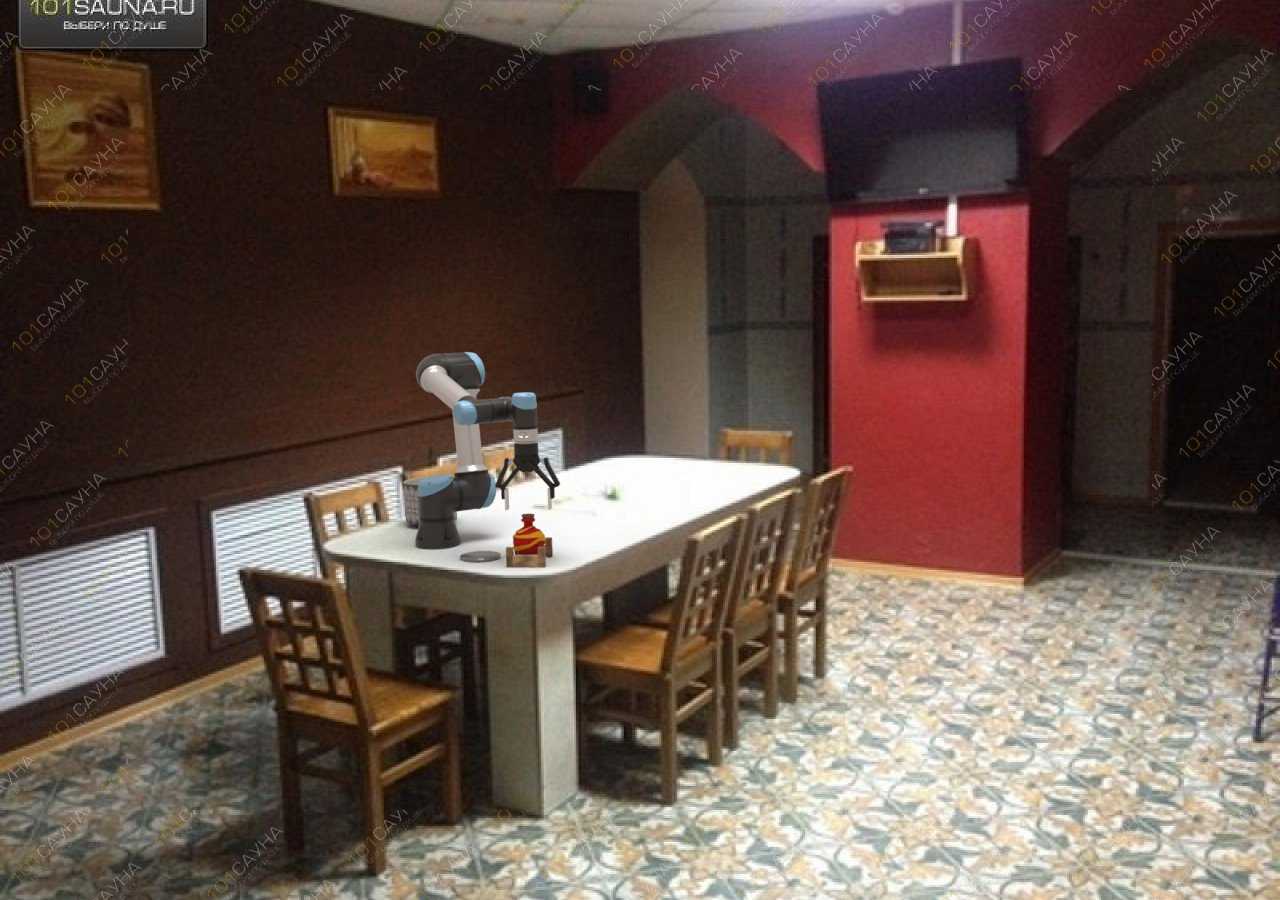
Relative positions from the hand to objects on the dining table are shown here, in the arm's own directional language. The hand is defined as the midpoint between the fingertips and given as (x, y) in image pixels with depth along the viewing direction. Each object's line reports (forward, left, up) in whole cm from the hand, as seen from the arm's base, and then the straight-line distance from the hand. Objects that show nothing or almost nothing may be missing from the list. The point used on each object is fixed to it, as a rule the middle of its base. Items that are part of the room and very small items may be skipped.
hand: (528, 509), depth 367 cm
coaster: (-17, +5, -17) cm, 24 cm away
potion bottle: (0, 0, -17) cm, 17 cm away
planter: (-47, +59, -17) cm, 78 cm away
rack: (0, 0, -17) cm, 17 cm away
